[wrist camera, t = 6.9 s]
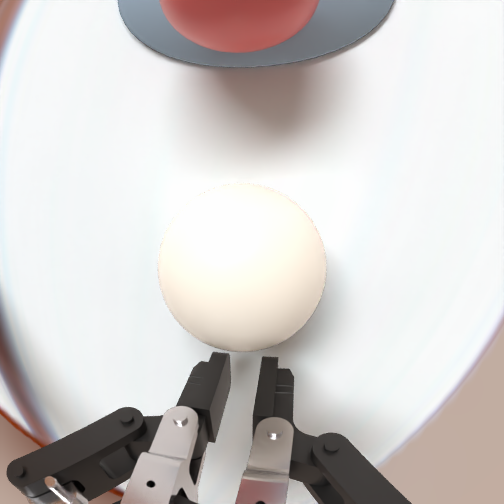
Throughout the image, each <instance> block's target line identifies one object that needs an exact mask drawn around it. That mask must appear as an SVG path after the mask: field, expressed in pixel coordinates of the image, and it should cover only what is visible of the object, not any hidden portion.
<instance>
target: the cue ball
mask: <svg viewBox="0 0 504 504" xmlns="http://www.w3.org/2000/svg"><path fill="white" fill-rule="evenodd" d="M158 278H159V284H160V288H161V292H162V295H163V298H164V300H165V303H166V305H167V307H168V308H169V310H170V312H171V313H172V315H173V316H174V318H175V319H176V320H177V322H178V323H179V324H180V325H181V326H182V327H183V328H184V329H185V330H186V331H187V332H188V333H190V334H191V335H192V336H194V337H195V338H197V339H198V340H200V341H202V342H203V343H206V344H208V345H210V346H213V347H215V348H219V349H222V350H227V351H234V352H251V351H257V350H262V349H266V348H269V347H272V346H274V345H277V344H279V343H281V342H282V341H284V340H286V339H288V338H289V337H291V336H292V335H293V334H295V333H296V332H297V331H298V330H299V329H300V328H301V327H302V326H303V325H305V323H306V322H307V321H308V319H309V318H310V317H311V315H312V314H313V313H314V311H315V309H316V307H317V305H318V303H319V301H320V299H321V296H322V293H323V290H324V286H325V280H326V255H325V250H324V246H323V242H322V239H321V237H320V234H319V232H318V230H317V228H316V226H315V225H314V223H313V221H312V220H311V218H310V217H309V216H308V214H307V213H306V212H305V211H304V210H303V209H302V208H301V207H300V206H299V205H298V204H297V203H296V202H294V201H293V200H292V199H290V198H289V197H287V196H286V195H284V194H282V193H280V192H279V191H276V190H274V189H271V188H269V187H265V186H261V185H256V184H249V183H237V184H229V185H223V186H219V187H216V188H213V189H210V190H208V191H206V192H204V193H202V194H200V195H199V196H197V197H195V198H194V199H192V200H191V201H190V202H189V203H187V204H186V205H185V206H184V207H183V208H182V209H181V210H180V211H179V212H178V213H177V215H176V216H175V217H174V219H173V220H172V222H171V223H170V225H169V227H168V228H167V230H166V232H165V235H164V238H163V240H162V243H161V246H160V251H159V257H158Z"/></svg>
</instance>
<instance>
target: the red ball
mask: <svg viewBox="0 0 504 504" xmlns="http://www.w3.org/2000/svg"><path fill="white" fill-rule="evenodd" d="M159 2H160V5H161V8H162V11H163V13H164V15H165V17H166V18H167V20H168V21H169V23H170V24H171V25H172V26H173V27H174V29H175V30H177V31H178V32H179V33H180V34H181V35H183V36H184V37H185V38H187V39H188V40H190V41H192V42H194V43H196V44H198V45H200V46H203V47H206V48H209V49H212V50H216V51H221V52H231V53H245V52H254V51H260V50H264V49H267V48H270V47H273V46H276V45H278V44H280V43H282V42H284V41H286V40H288V39H290V38H291V37H293V36H294V35H295V34H297V33H298V32H299V31H300V30H301V29H302V28H303V27H304V26H305V25H306V24H307V23H308V22H309V21H310V19H311V17H312V16H313V14H314V12H315V11H316V8H317V6H318V3H319V0H159Z"/></svg>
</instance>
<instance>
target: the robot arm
mask: <svg viewBox="0 0 504 504" xmlns="http://www.w3.org/2000/svg"><path fill="white" fill-rule="evenodd" d="M230 384H231V371H230V355H229V354H228V353H218V352H213V353H212V355H211V357H210V360H209V362H203V361H201V362H199V363H198V364H197V365H196V366H195V367H194V368H193V370H192V372H191V374H190V377H189V378H188V381H187V383H186V385H185V387H184V390H183V392H182V394H181V396H180V398H179V401H178V403H177V405H176V407H173V408H170V409H169V410H167V411H166V412H165V414H164V415H162V416H143V415H142V413H141V412H140V411H139V410H137V409H135V408H132V407H124V408H120V409H118V410H116V411H115V412H113V413H111V414H109V415H107V416H105V417H103V418H101V419H100V420H98V421H96V422H94V423H92V424H90V425H88V426H86V427H84V428H82V429H80V430H78V431H76V432H74V433H72V434H70V435H68V436H66V437H64V438H62V439H60V440H58V441H56V442H54V443H52V444H49V445H47V446H45V447H43V448H41V449H39V450H36V451H34V452H32V453H30V454H27V455H25V456H23V457H20V458H18V459H16V460H13V461H12V462H11V463H10V464H9V465H8V468H7V477H8V479H9V481H10V482H11V483H12V484H13V485H14V486H15V487H17V489H19V490H20V491H21V493H22V494H24V495H25V496H26V498H27V499H28V501H29V503H30V504H88V501H90V500H92V499H94V498H96V497H98V496H100V495H102V494H103V493H105V492H107V491H109V490H111V489H112V488H114V487H116V486H118V485H119V484H121V483H123V482H124V481H126V480H128V479H129V478H130V481H129V483H128V486H127V488H126V491H125V493H124V496H123V498H122V500H120V501H118V502H115V503H113V504H198V486H199V482H200V477H201V473H202V469H203V464H204V460H205V456H206V451H205V450H206V447H207V444H208V442H213V443H215V441H216V437H217V434H218V430H219V426H220V423H221V419H222V416H223V412H224V408H225V405H226V401H227V398H228V394H229V390H230ZM293 393H294V376H293V375H292V373H291V371H290V369H281V368H278V357H264V356H263V357H262V362H261V368H260V375H259V381H258V387H257V393H256V399H255V405H254V411H253V443H252V448H251V452H250V456H249V460H248V464H247V468H246V470H245V471H244V473H243V476H242V480H241V484H240V487H239V491H238V495H237V499H236V502H235V504H286V497H287V490H288V482H289V478H291V479H294V480H297V481H301V482H303V484H304V485H305V487H306V488H307V489H308V491H309V492H310V493H311V495H312V496H313V497H314V498H315V500H316V501H317V502H318V504H411V502H409V501H408V500H407V499H406V498H405V497H404V496H403V495H402V494H401V493H400V492H399V491H398V490H397V489H396V488H395V487H394V486H393V485H392V484H390V483H389V481H388V480H386V478H384V477H383V475H381V473H379V472H378V470H377V469H376V468H375V467H374V466H373V465H372V464H371V463H370V462H369V461H368V460H367V459H366V458H365V457H364V456H363V455H362V454H361V453H360V452H359V451H358V450H357V449H356V448H355V447H354V446H353V445H352V444H351V443H350V442H349V441H348V439H346V438H345V437H344V436H342V435H340V434H337V433H325V434H322V435H320V436H319V437H314V436H310V435H307V434H304V433H302V432H301V431H299V430H298V429H297V428H296V427H295V425H294V423H293Z"/></svg>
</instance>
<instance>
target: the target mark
mask: <svg viewBox="0 0 504 504" xmlns="http://www.w3.org/2000/svg"><path fill="white" fill-rule="evenodd" d="M393 1H394V0H319V3H318V6H317V8H316V11H315V12H314V14H313V16H312V17H311V19H310V21H309V22H308V23H307V24H306V25H305V26H304V27H303V28H302V29H301V30H300V31H299V32H298V33H297V34H295V35H294V36H293V37H291V38H290V39H288V40H286V41H284V42H282V43H280V44H278V45H276V46H273V47H270V48H267V49H264V50H260V51H254V52H245V53H231V52H221V51H216V50H212V49H209V48H206V47H203V46H200V45H198V44H196V43H194V42H192V41H190V40H188V39H187V38H185V37H184V36H183V35H181V34H180V33H179V32H178V31H177V30H175V29H174V27H173V26H172V25H171V24H170V23H169V21H168V20H167V18H166V17H165V15H164V13H163V11H162V8H161V5H160V2H159V0H118V7H119V11H120V14H121V17H122V19H123V21H124V23H125V25H126V26H127V27H128V29H129V30H130V31H131V33H132V34H134V35H135V36H136V37H137V38H138V39H139V40H140V41H141V42H143V43H144V44H146V45H148V46H149V47H151V48H152V49H154V50H156V51H158V52H160V53H163V54H165V55H167V56H169V57H172V58H176V59H179V60H183V61H186V62H191V63H197V64H202V65H208V66H221V67H259V66H273V65H279V64H286V63H293V62H298V61H302V60H306V59H310V58H315V57H318V56H321V55H324V54H327V53H330V52H333V51H336V50H338V49H340V48H342V47H345V46H347V45H349V44H351V43H353V42H355V41H356V40H358V39H360V38H361V37H363V36H364V35H366V34H368V33H369V32H370V31H371V30H372V29H373V28H374V27H376V26H377V25H378V24H379V23H380V22H381V20H382V19H383V18H384V17H385V15H386V14H387V13H388V11H389V9H390V7H391V5H392V3H393Z"/></svg>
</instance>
